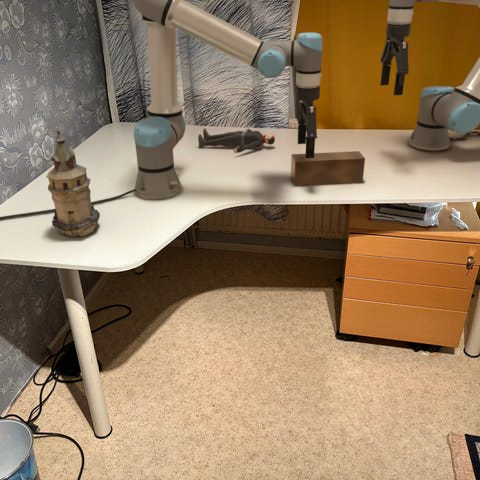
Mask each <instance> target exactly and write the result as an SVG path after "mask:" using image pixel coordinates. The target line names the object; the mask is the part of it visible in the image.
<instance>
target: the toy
mask: <svg viewBox="0 0 480 480" xmlns="http://www.w3.org/2000/svg"><path fill="white" fill-rule="evenodd" d="M202 134H203V135H202ZM202 134H201V133H199V134H198V136H197V141H198V146H199V148H200V149H201V148H204V147H219V146H221V147H235V148H233V150H232V152H233V153H234V154H238V153H239V154H240V153H243V152H244V151H246V150H250V149H255V150H257V149H261V148H263V146H264V144H265V145H266V144H267V145H268V146H271V145H274V144H275V141H276V139H275V138H276V136H275V135H274V134H272V133H269V134H267V133H266V134H262V133H261V132H260V131H259V130H252V129H250V128H246V130H245V131H244V130H237V131H228V132H224V133H219V134H209V132H208V131H207V128H203V129H202Z"/></svg>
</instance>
